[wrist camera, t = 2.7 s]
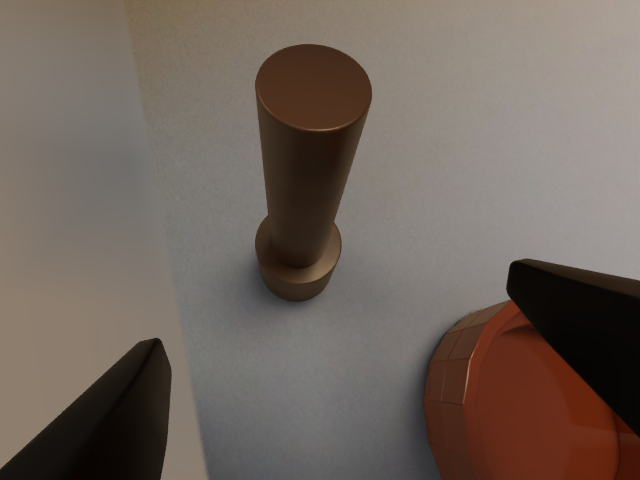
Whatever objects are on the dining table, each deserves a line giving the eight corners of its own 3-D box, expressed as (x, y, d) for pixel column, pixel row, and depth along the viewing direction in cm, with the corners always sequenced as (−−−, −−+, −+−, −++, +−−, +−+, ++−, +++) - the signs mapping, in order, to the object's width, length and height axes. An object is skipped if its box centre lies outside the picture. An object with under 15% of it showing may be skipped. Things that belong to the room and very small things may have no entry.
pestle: (319, 311, 20) (381, 188, 7) (249, 287, 20) (185, 124, 7) (340, 246, 22) (421, 51, 9) (275, 224, 22) (262, 1, 9)
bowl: (640, 595, 16) (781, 680, 12) (398, 508, 17) (442, 557, 12) (628, 344, 21) (724, 334, 16) (440, 281, 21) (482, 254, 17)
